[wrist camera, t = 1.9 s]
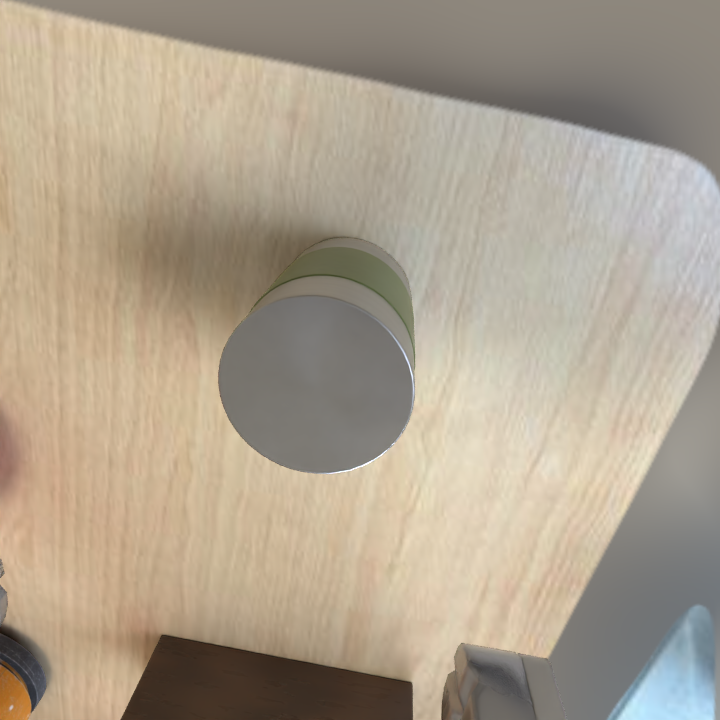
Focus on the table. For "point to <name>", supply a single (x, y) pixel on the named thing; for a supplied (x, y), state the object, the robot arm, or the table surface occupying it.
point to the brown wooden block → (258, 688)
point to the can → (324, 360)
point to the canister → (19, 681)
